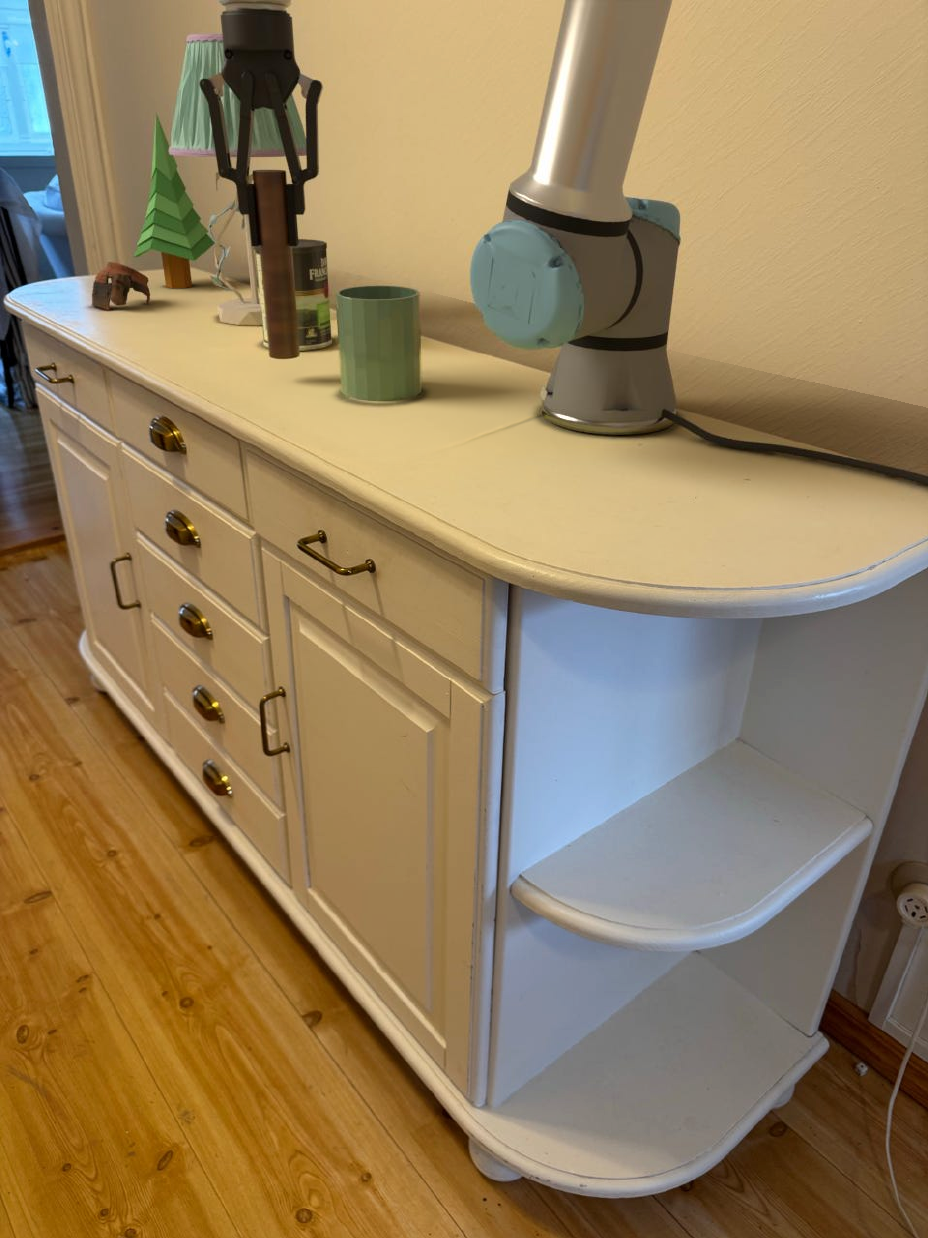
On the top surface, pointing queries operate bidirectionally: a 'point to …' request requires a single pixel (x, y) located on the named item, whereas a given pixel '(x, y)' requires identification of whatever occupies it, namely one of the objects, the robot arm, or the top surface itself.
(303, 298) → the coffee can
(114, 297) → the brown arched piece
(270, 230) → the stick
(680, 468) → the top surface
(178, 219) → the decorative tree
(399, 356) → the tin
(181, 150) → the table lamp
